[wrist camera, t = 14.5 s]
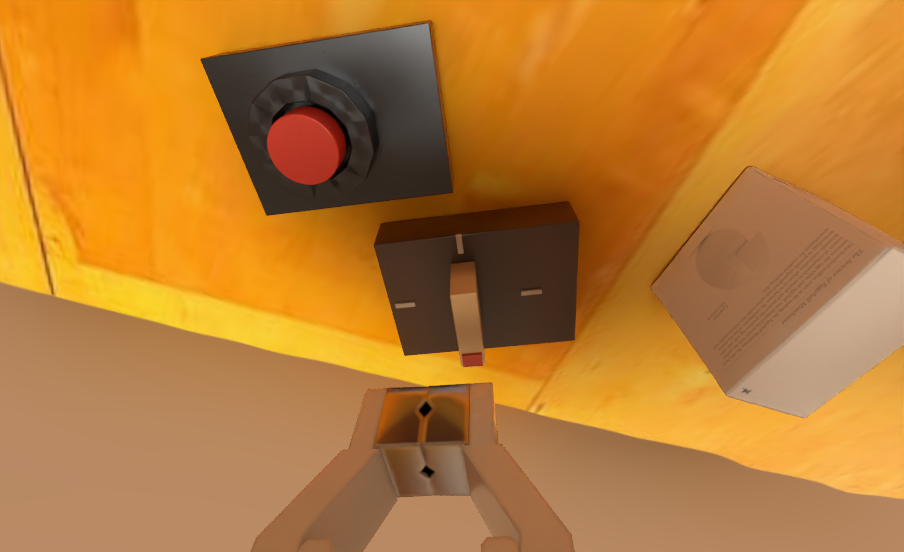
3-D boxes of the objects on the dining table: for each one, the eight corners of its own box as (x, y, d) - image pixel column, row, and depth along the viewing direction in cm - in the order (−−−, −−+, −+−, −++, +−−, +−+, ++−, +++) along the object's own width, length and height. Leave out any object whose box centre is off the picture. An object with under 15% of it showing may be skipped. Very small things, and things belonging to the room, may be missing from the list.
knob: (450, 263, 27) (449, 297, 24) (474, 260, 27) (477, 295, 24) (461, 331, 31) (461, 369, 28) (482, 329, 31) (485, 367, 27)
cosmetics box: (716, 311, 33) (808, 424, 24) (648, 287, 32) (719, 397, 23) (825, 197, 28) (994, 290, 19) (748, 162, 26) (891, 245, 18)
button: (335, 101, 21) (326, 109, 20) (354, 169, 23) (347, 180, 22) (268, 111, 22) (254, 119, 20) (292, 177, 24) (281, 189, 22)
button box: (431, 20, 22) (426, 24, 19) (453, 179, 27) (453, 205, 24) (219, 53, 23) (180, 63, 20) (278, 201, 28) (255, 229, 25)
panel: (568, 199, 28) (580, 221, 25) (566, 316, 34) (575, 343, 31) (380, 222, 29) (372, 244, 26) (408, 331, 35) (404, 358, 32)
